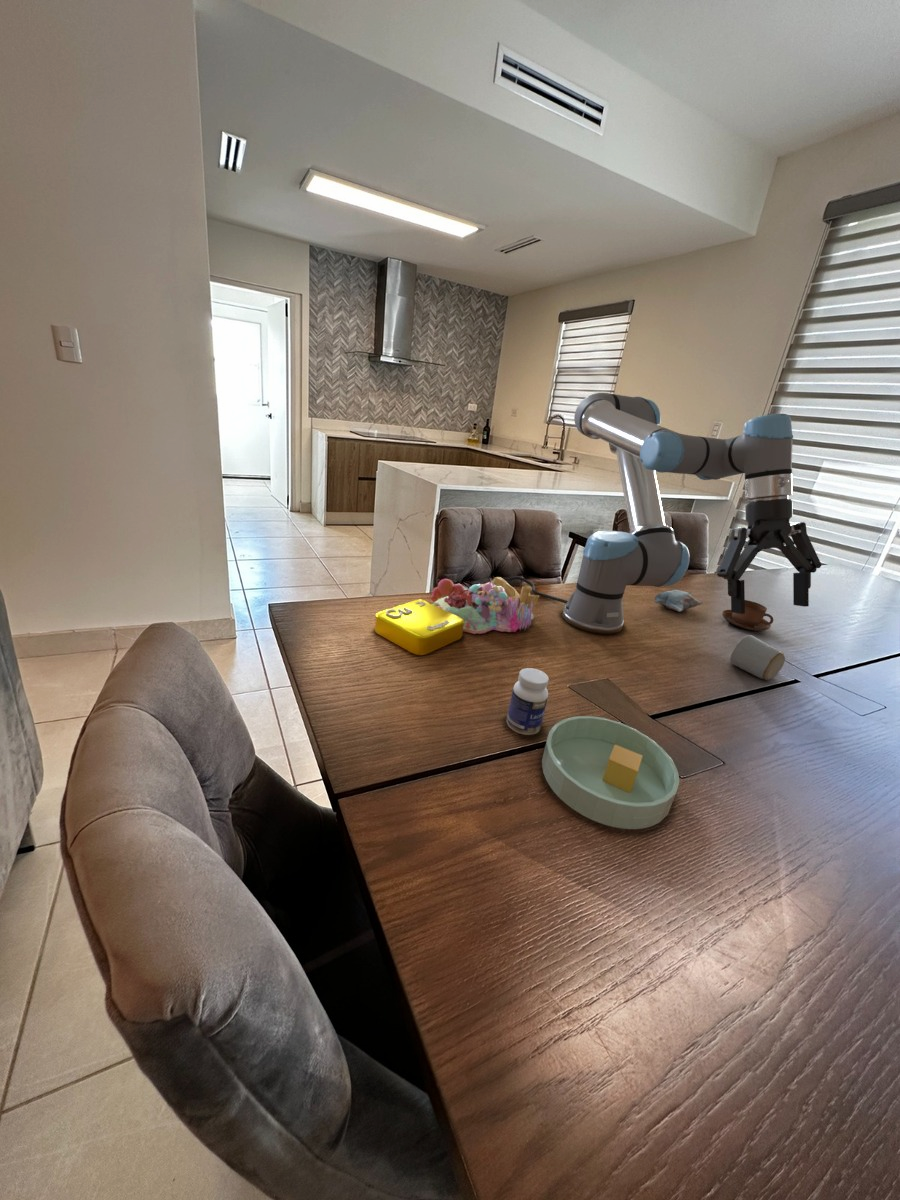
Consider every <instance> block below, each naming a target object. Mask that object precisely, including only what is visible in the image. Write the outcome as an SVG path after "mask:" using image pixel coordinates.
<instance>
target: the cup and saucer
mask: <svg viewBox="0 0 900 1200" xmlns="http://www.w3.org/2000/svg"><path fill="white" fill-rule="evenodd" d="M767 609H768V608H767V607H766V606H765V605H763V604H761V603H758V602H755V601H752V600H748V599H745V614H739V613H733V612H731V609H725V610H723V611H722V617H723V618H724V619H725V620H726V621H727V622H728V623H730V624H732V625H733V626H735V627H738V628H741V629H744V630H749V631H756V632H763V631H766V630H770V628H771V627H772V624H773V623H774V617H773V616H772V615H771V614H769V613H766V612H767ZM765 617H768V618H769V620H770V621H768V620H766V619H765Z"/></svg>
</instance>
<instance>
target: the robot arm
mask: <svg viewBox="0 0 900 1200" xmlns="http://www.w3.org/2000/svg"><path fill="white" fill-rule="evenodd" d="M573 420H574V425H575V428H576V429H577V431H578V432H579V433H580V434H582V435H583V436H585V437H587V438H589V439H592V440H599V439H600V440H603V441H605V442H606V443H608V446H609V450H610V452H611V453H612V454H614V455H616V457H617V464H618V469H619V475H620V480H621V486H622V492H623V498H624V503H625V509H626V515H627V521H628V527H629V532H627V531H622V530H621V531H617V530H601V531H596V532H594V533H592V534H590V536H589V537H588V538H587V540H586V543H585V546H584V549H583V552H582V553H583V555H582V559H581V562H580V563H581V564H580V567H579V573H578V577H577V580H576V585H575V589H574V591H573V592H572V594H571V595H570V597H569V598H568V599H564V598H560V597H557V596H554V595H553V596H552V595H550V594H546V593H543V592H540V591H538V590H536V585H535V584H534V583H533V582H532V581H530V580H528V579H526V578H524V577H521V576H517V575H515V576H511V577H509V578H508V580H509V581H512V580H518V581H522V582H523V583H525V584H526V585H529V586H531V587H532V590H531V592H532V593H533V594H534V595H539V597H543V598H546V599H549V600H552V601H556V602H560V603H563V604H564V606H563V610H562V614H561V616H562V619H564V621H565V622H567V623H568V624H569V625H571V626H572V627H575V628H577V629H579V630H582V631H584V632H589V633H594V634H598V635H599V634H600V635H611V634H612V635H613V634H617V633H619V632H621V631H622V629H623V625H624V621H625V620H624V609H623V607H624V606H623V597H624V594H625V590H626V588H627V587H626V586H630V587H631V586H632V587H655V588H660V587H670V586H673V585H675V584H677V583H679V582H680V581H681V580H682V579H683V578H684V576H685V574H686V572H687V571H688V568H689V564H690V551H689V549H688V546H687V545H686V544H684V543H683V542H681V541H680V540H676V537H675V531H674V529H673V528H672V527H670V526H668V525H666V521H665V515H664V510H663V506H662V505H663V504H662V500H661V494H660V490H659V484H658V480H657V474H656V472H657V473H662V474H663V473H670V474H671V473H672V474H682V475H684V474H685V475H691V476H696V477H697V478H699V480H702V481H712V480H714V481H716V480H717V481H718V480H721V479H723V478H728V477H732V476H736V475H737V476H738V475H742V474H744V500H745V501H748V503H746V504H745V509H744V511H745V512H744V513H745V521H746V522H747V528H746V527H734V528H732V529H731V530H732V531H731V538H730V542H729V544H728V547H727V549H726V552H725V554H724V556H723V558H722V561H721V563H720V565H719V568H718V570H717V574H716V575H717V577H718V578H723V579H724V580H726V581H727V595H728V597H730V610H731V612H733V613H739V614H745V600H746V595H745V594H746V593H745V591H746V590H745V589H746V588H745V579H741V578H742V577H743V575H744V573H745V572H746V571H747V569H748V568H749V567H750V565H751V563H753V561H754V560H755V558H756V557H757V555H758V554H759V553H760V552H762V551H763V550H769V549H778V550H779V551H780V552H781V554H783V556H784V557H785V558H786V559H787V560H788V561H789V562H790V564H791V566H793V568H794V569H795V571H797V572H793V575H792V579H793V580H792V581H793V583H792V584H793V585H792V587H793V588H792V589H793V591H792V593H793V598H792V599H793V600H792V601H793V606H797V607H809V606H810V604H809V603H810V598H809V597H810V595H809V594H810V593H809V589H811V586H812V574H814V573H816V572H817V569H821V568H822V562H821V559H820V558H819V556H818V553H817V552H816V549H815V547H814V545H813V543H812V541H811V539H810V537H809V535H808V533H807V531H808V530H807V524H806V522H805V521H801V522H800V521H799V522H790V520H791V519H792V518H793V516H794V511H793V510H794V508H793V507H794V505H793V504H794V502H793V499H792V498H789V497H791V496H792V495H793V467H792V465H793V439H794V435H793V427H792V418H791V416H790V415H789V414H787V413H769V414H765V415H759V416H756V417H753V418H750V419H749V420H747V421H746V422H745V423H744V425H743V431H742V434H739V435H737V436H734V437H733V436H732V437H729V438H715V437H709V436H708V437H707V436H699V435H698V436H697V435H690V434H684V433H681V432H680V433H679V432H677V431H674V430H672V429H669V428H668V427H664V426H662V425H660V424H661V421H662V417H661V411H660V408H659V406H658V405H657V403H656V402H655V401H653V400H651V399H649V398H645V397H642V396H628V395H621V394H615V393H609V392H596V393H592V394H591V395H588V396H586V397H585V398H583V399H582V400H581V401H580V403H579V404H578V405H577V406H576V409H575V411H574V419H573ZM747 539H748V540H747ZM746 541H747V542H746Z"/></svg>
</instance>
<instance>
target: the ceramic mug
mask: <svg viewBox="0 0 900 1200" xmlns="http://www.w3.org/2000/svg"><path fill="white" fill-rule="evenodd" d="M785 663H786V656H785V654H784V653H783V652H782V651H781V650H780V649H778V648H776V647H774V646H772V645H771V644H768V643H766V642H764V641H763V640H760V639H759V638H757V637H755V636H754V635H751V634H748V635H746V636H744V637H742V638H741V639H740V640H739V642H738V643H737V644H736V645H735V647H734V648H733V651H732V653H731V655H730V664H732V665H733V666H736V667H737V668H739V669H741V670H743V671H745V672H747V673H749V674H751V675H753V676H755V677H757V678H759V679H762V680H765V681H769V680H771V679H774V678H775V677H776V676H777V675H778V674H779V673H780V671H781V670H782V668H783V666H784V664H785Z"/></svg>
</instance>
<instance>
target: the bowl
mask: <svg viewBox="0 0 900 1200" xmlns="http://www.w3.org/2000/svg"><path fill="white" fill-rule="evenodd" d="M546 737H547V738H546V743H545V745H544V750H543V754H542V759H541V767H542V773H543V775H544V778H545V781H546V782H547V784H548V786H549V787H550V788H551V790H552V792H553V793H554V794H555V795H556V796H557V797H558V798H559V799H560V800H561V801H562V802H563V803H564V804H566V805H567V806H568V807H569V808H571V809H572V810H573V811H575V812H577V813H579V814H580V815H581V816H583V817H586V818H587V819H589V820H591V821H594V822H595V823H599V824H601V825H605V826H607V827H612V828H617V829H624V830H642V829H646V828H650V827H653V826H655V825H658V824H660V823H661V822H662V821H663V820H664V819H665V818H666V817H667V816H668V815H669V812H670V810H671V807H672V804H673V802H674V799H675V797H676V795H677V793H678V789H679V787H680V776H679V770H678V769H677V766H676V764H675V762H674V761H673V759H672V757H671V756H670V755H669V754H668V753H667V752H666V750H665V749H664V748H663V747H662V746H661V745H659V744H658V743H657V742H655V741H654V740H653V739H652V738H651V737H650V736H647V735H646V734H644V733H643V732H641V731H639V730H638V729H636V728H634V727H633V726H632V727H631V726H629V725H627V724H625V723H622V722H620V721H616V720H613V719H609V718H606V717H599V716H593V715H577V716H572V717H568V718H564V719H562V720H561V721H558V722H556V723H555V724H554V725H553V726H552V728H550V729H549V731H548V734H547V736H546ZM615 744H616V745H618V746H620V747H623V748H625V749H628V750H630V751H633V752H635V753H637V754H640V755H642V756H643V757H642V760H641V764H640V767H639V770H638V773H637V776H636V779H635V782H634V785H633V788H632V791H631V793H628V792H626V791H624V790H622V789H619V788H617V787H615V786H613V785H610V784H608V783H606V782H604V781H602V780H603V777H604V773H605V770H606V767H607V764H608V761H609V758H610V755H611V753H612V750H613V748H614V745H615Z"/></svg>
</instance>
